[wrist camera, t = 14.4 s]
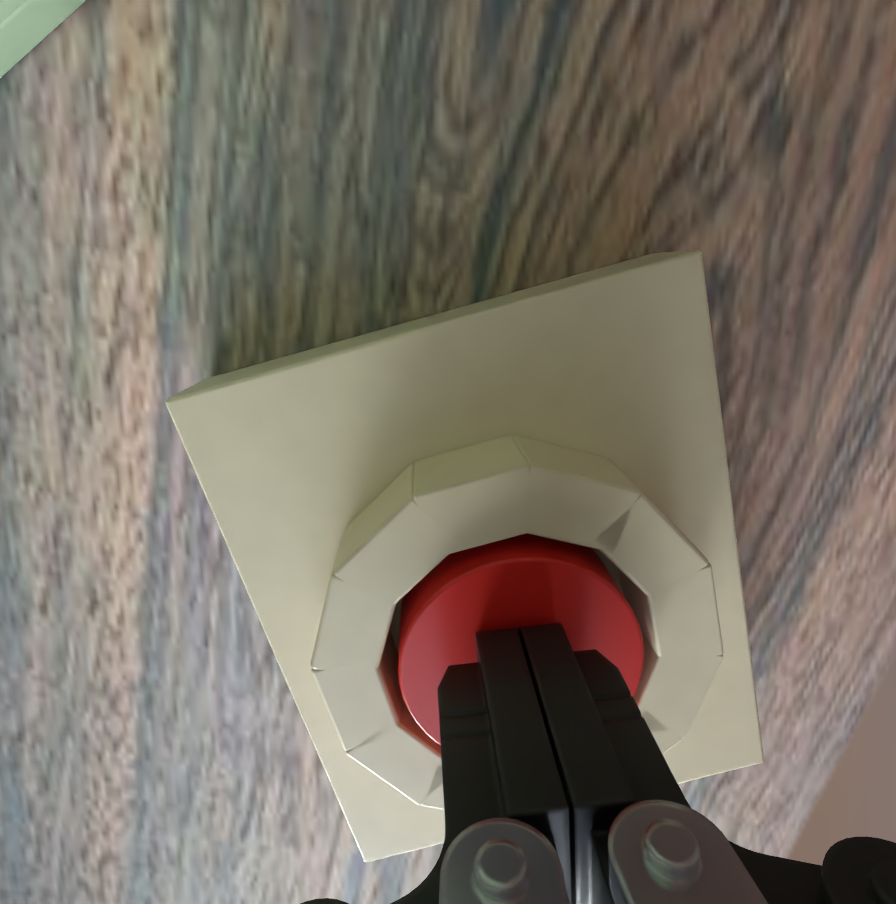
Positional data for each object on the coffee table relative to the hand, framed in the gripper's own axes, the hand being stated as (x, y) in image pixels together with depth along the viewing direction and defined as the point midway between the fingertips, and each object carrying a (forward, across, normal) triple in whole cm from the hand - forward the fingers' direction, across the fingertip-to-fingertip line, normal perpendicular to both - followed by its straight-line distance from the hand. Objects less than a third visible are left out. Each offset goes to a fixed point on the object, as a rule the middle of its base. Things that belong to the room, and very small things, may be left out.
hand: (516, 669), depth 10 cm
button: (+2, 0, 0) cm, 2 cm away
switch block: (+4, 0, 0) cm, 4 cm away
